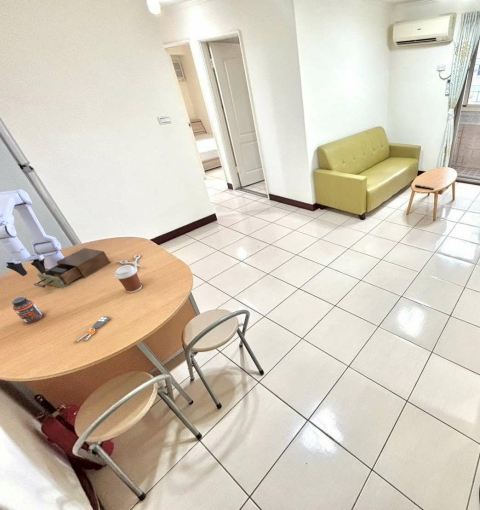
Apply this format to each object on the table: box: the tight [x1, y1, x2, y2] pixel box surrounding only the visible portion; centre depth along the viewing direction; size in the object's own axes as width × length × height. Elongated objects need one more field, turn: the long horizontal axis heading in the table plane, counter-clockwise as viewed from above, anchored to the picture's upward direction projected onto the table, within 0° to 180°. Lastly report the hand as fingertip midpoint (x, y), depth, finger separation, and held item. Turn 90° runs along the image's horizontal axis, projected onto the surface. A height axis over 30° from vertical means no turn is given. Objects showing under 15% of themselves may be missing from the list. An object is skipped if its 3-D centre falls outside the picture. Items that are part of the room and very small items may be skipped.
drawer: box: [32, 264, 82, 289], centre depth 140 cm, size 18×13×6 cm
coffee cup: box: [114, 264, 143, 293], centre depth 134 cm, size 9×9×12 cm
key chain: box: [76, 315, 110, 342], centre depth 115 cm, size 13×4×2 cm, turn 174°
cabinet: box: [57, 247, 111, 279], centre depth 150 cm, size 15×15×8 cm
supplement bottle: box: [11, 296, 44, 324], centre depth 118 cm, size 6×6×11 cm
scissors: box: [117, 254, 144, 270], centre depth 155 cm, size 11×1×20 cm
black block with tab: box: [51, 267, 68, 279], centre depth 141 cm, size 9×3×5 cm, turn 75°
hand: (34, 273), depth 131 cm, fingers open, 7 cm apart
